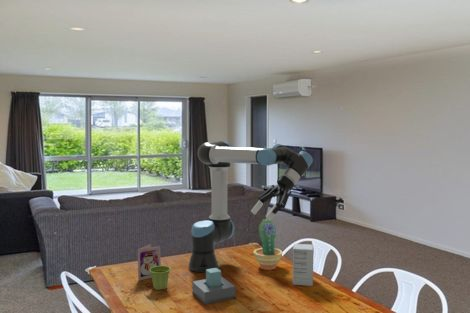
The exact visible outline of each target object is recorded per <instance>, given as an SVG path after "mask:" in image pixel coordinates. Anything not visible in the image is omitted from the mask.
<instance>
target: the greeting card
mask: <svg viewBox="0 0 470 313" xmlns="http://www.w3.org/2000/svg"><path fill="white" fill-rule="evenodd" d="M161 261H162V260H161V245H156V246H152V243H149V244H147V245H145V246H143V247H140V248H138V249H137V274H138V278H137V279H138V280H139V281H143V280H149V279H152V275H151V272H150V268H152V267H155V266H162V264H161V263H162V262H161Z"/></svg>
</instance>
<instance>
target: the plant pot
mask: <svg viewBox="0 0 470 313" xmlns="http://www.w3.org/2000/svg"><path fill="white" fill-rule="evenodd" d="M170 271H171V267H170V266H167V265H161V266H155V267H152V268H150V272H151V275H152V278H151V280H152V287H153V289H154V290H157V291H160V290H166V289H167V288H168V283H169V282H168V281H169V275H170Z"/></svg>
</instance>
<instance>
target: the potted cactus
mask: <svg viewBox="0 0 470 313" xmlns="http://www.w3.org/2000/svg"><path fill="white" fill-rule="evenodd" d="M257 231H258V237H259V238H260V242H261V247H260V248H256V249H254V250H253V252H252V253H253V256H254V257H255V259H256V262H257V264H258V265H259V268H260V269H262V270H266V271H267V270H269V271H271V270H275V269H277V265H278V264H279V262H280V260H281V257H283V253H284V252H283V250H281V249H280V248H275V247H276V246H275V244H276V243H275V239H276V235H277V227H276V225H275V224H274V222H273V220H272V219H271V220H269V219H268V218H265V219H264V218H263V219H262V220H261V221H260V224H259V225H258V228H257Z"/></svg>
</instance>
